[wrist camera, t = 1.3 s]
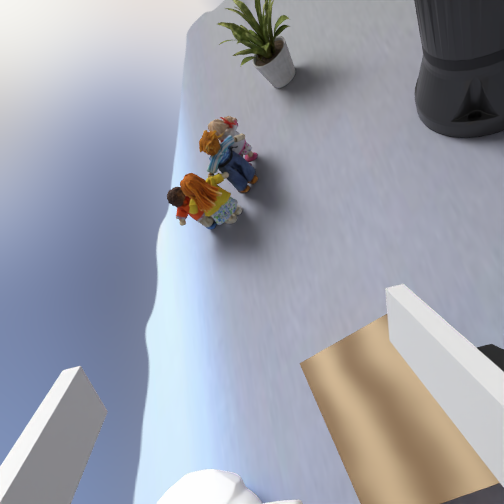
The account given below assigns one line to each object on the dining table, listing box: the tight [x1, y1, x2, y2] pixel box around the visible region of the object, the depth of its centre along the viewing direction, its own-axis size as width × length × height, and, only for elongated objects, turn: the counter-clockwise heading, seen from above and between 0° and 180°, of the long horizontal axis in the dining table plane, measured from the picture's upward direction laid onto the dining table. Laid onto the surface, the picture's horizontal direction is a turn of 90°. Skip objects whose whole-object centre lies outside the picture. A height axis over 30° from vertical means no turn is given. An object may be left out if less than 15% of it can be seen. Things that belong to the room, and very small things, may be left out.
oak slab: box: [300, 314, 500, 504], centre depth 31 cm, size 13×15×4 cm
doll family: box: [167, 116, 258, 229], centre depth 53 cm, size 21×10×13 cm, turn 145°
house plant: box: [218, 0, 295, 88], centre depth 57 cm, size 14×14×16 cm
